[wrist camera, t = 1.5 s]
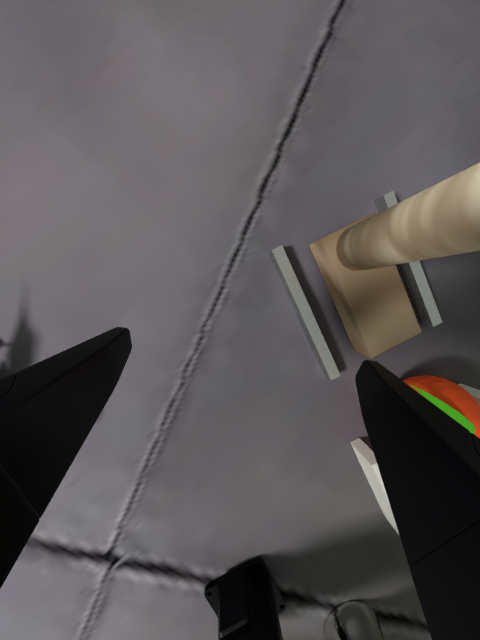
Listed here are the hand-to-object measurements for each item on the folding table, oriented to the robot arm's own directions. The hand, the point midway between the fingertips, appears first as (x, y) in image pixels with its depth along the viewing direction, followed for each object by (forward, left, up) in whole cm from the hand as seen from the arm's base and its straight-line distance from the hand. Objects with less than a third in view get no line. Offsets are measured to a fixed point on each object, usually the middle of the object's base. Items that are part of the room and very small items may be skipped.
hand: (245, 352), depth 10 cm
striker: (-3, -12, -13) cm, 18 cm away
